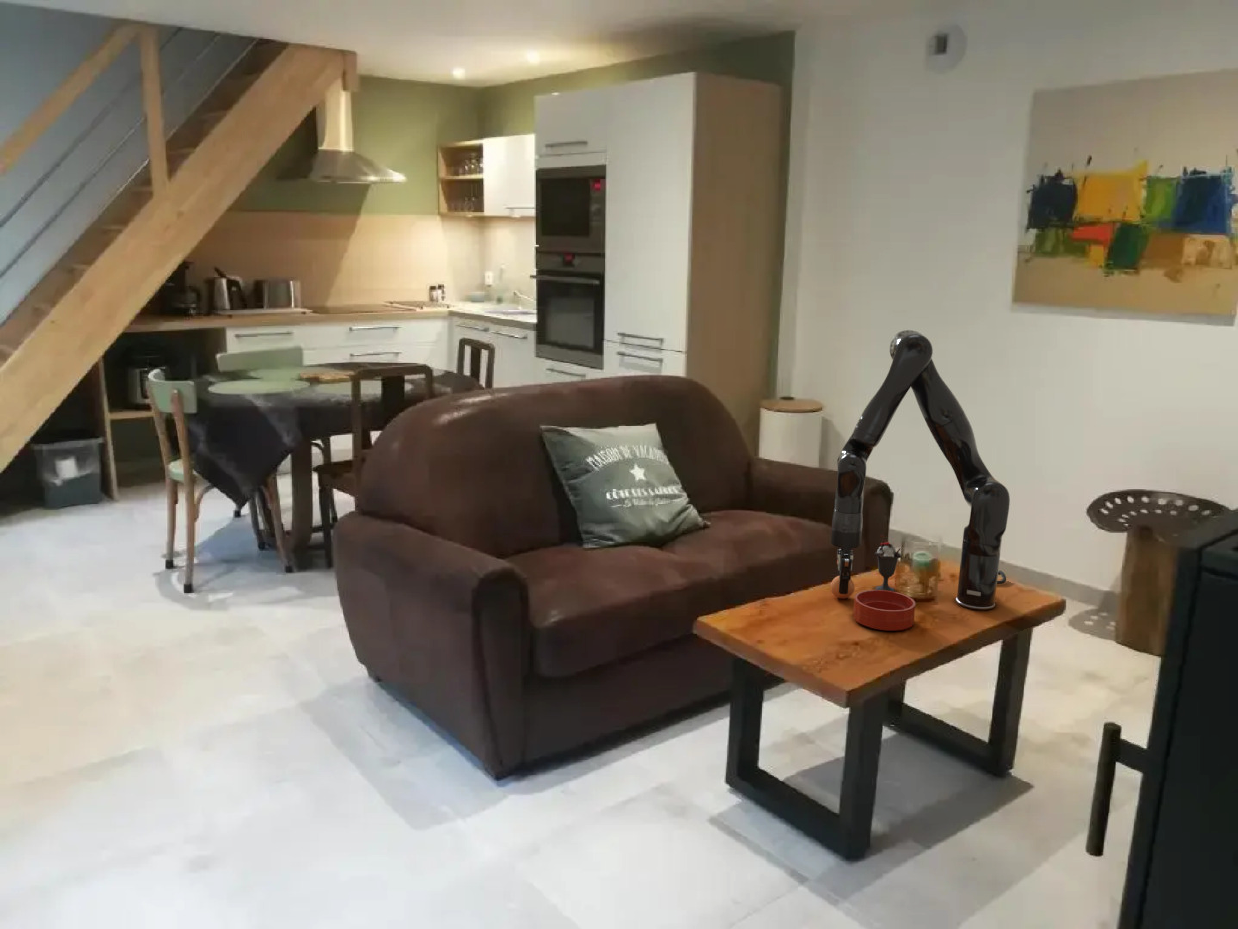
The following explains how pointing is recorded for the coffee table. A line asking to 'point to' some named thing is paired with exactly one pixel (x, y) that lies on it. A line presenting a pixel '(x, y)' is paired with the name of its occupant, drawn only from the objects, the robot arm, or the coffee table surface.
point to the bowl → (884, 610)
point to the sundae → (887, 563)
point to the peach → (836, 588)
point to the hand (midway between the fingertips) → (842, 588)
